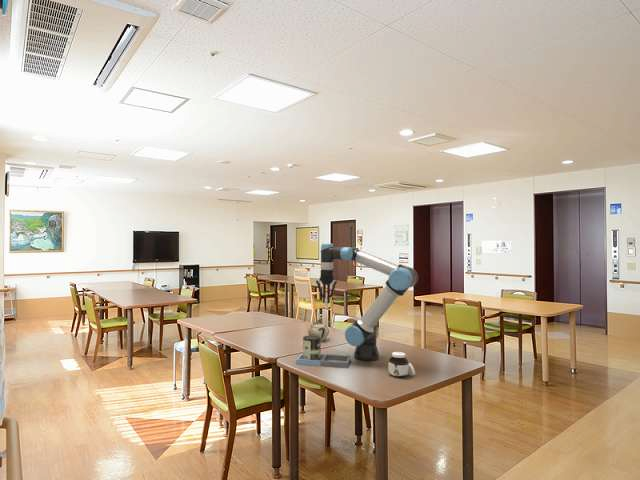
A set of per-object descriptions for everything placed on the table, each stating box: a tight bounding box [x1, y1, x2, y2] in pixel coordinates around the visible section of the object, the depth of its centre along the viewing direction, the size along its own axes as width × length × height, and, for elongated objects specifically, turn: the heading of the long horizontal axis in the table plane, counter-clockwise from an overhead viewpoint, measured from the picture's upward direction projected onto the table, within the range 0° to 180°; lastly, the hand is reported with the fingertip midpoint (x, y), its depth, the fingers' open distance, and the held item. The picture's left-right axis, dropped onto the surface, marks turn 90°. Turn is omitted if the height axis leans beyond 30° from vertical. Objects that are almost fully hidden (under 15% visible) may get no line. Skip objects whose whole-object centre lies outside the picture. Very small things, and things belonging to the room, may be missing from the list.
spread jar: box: [387, 351, 416, 379], centre depth 216 cm, size 12×11×12 cm
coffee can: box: [302, 335, 322, 361], centre depth 240 cm, size 10×10×14 cm
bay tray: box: [295, 352, 352, 369], centre depth 238 cm, size 29×15×3 cm, turn 79°
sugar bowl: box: [307, 319, 330, 343], centre depth 293 cm, size 20×15×15 cm
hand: (326, 308), depth 249 cm, fingers closed
